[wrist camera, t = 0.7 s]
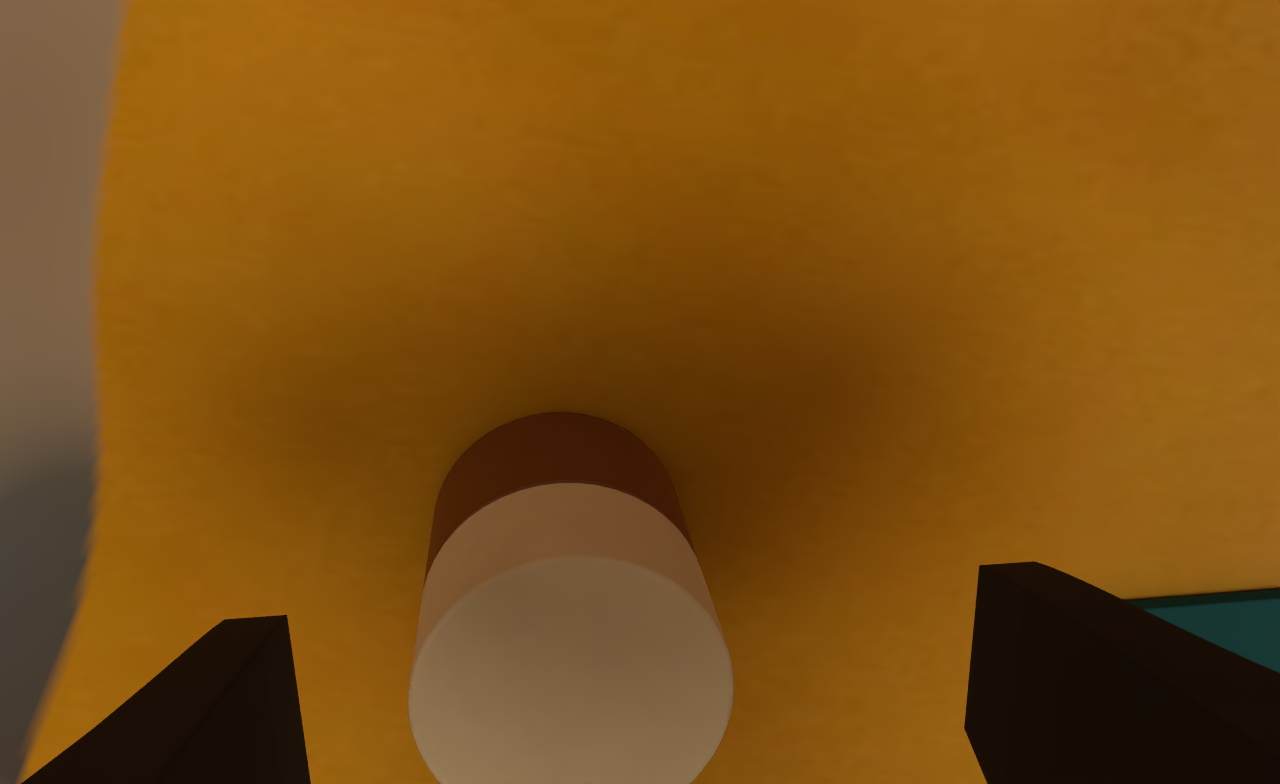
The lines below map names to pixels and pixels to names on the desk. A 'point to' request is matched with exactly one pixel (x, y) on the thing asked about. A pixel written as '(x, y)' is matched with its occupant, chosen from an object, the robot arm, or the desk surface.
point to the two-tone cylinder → (565, 617)
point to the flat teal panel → (1228, 621)
